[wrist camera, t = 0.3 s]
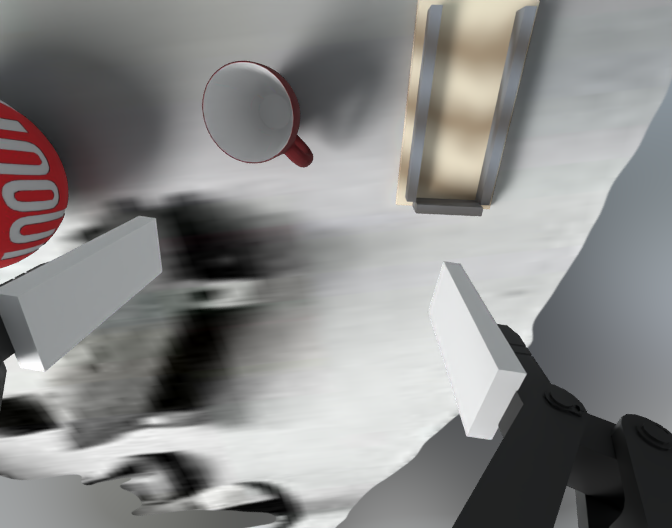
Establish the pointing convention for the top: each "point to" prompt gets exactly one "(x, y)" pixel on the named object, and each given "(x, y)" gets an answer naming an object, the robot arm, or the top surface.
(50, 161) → the decorative sphere
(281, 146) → the mug
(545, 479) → the robot arm
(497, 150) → the rail mount
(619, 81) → the top surface
